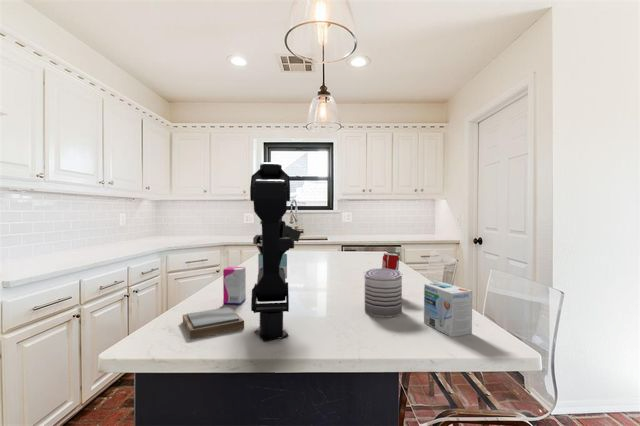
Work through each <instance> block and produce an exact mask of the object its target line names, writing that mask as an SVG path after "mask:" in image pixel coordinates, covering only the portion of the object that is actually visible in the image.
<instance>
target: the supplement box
mask: <svg viewBox="0 0 640 426" xmlns="http://www.w3.org/2000/svg"><path fill="white" fill-rule="evenodd" d="M222 276H223V277H222V278H223V279H222V280H223V281H222V282H223V288H222V289H223V291H222V292H223V305H225V306H226V305H230V306H232V305H234V306H235V305H236V306H241V305H242V304H243V303H244V302H245V301H246V300H247V296H246V295H247V294H246V293H247V292H246V289H247V288H246V284H247V283H246V276H247V275H246V266H228V267H227V268H223V270H222Z"/></svg>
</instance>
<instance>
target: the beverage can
mask: <svg viewBox="0 0 640 426" xmlns="http://www.w3.org/2000/svg"><path fill="white" fill-rule="evenodd" d="M399 264H400V257H399V254H397V253H392V252H384V253H383V256H382V261H381V268H387V269H393V270H398V271H399Z"/></svg>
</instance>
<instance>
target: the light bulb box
mask: <svg viewBox="0 0 640 426" xmlns="http://www.w3.org/2000/svg"><path fill="white" fill-rule="evenodd" d="M423 285H424V286H423V288H424V291H423V293H424V294H423V295H424V297H423V298H424V300H423V323H424V324H426V325H428V326H429V327H432V328H433V329H435V330H437V331H439V332H441V333H443V334H445V335H447V336H448V337H451V338H454V337H459V336H466V335H472V334H473V290H469V289H467V288H464V287H463V288H462V287H460V286H458V285H453V284H451V283H447V282H445V281H444V282H441V281H439V282H433V283H424V284H423Z"/></svg>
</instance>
